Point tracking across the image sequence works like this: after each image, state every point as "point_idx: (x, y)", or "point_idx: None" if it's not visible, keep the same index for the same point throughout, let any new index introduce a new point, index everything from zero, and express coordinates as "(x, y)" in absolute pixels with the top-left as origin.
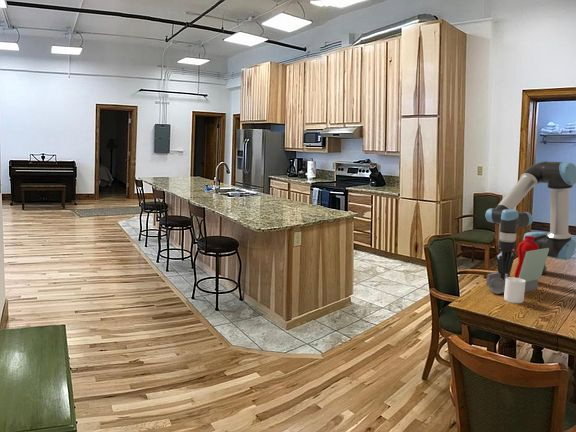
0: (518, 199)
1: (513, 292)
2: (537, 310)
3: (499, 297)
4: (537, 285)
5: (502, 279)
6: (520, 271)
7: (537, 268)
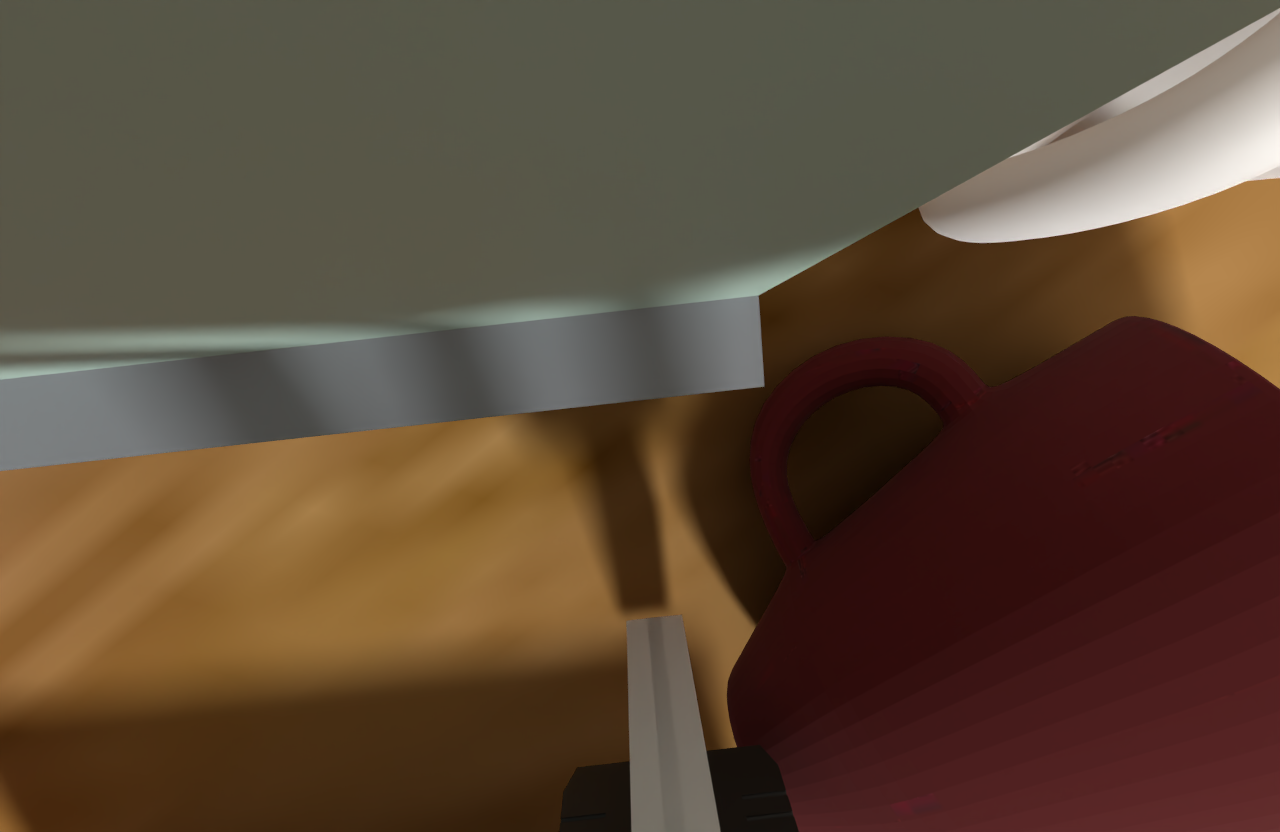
0: None
1: None
2: None
3: (1235, 266)
4: None
5: (1133, 632)
6: (1006, 151)
7: None
